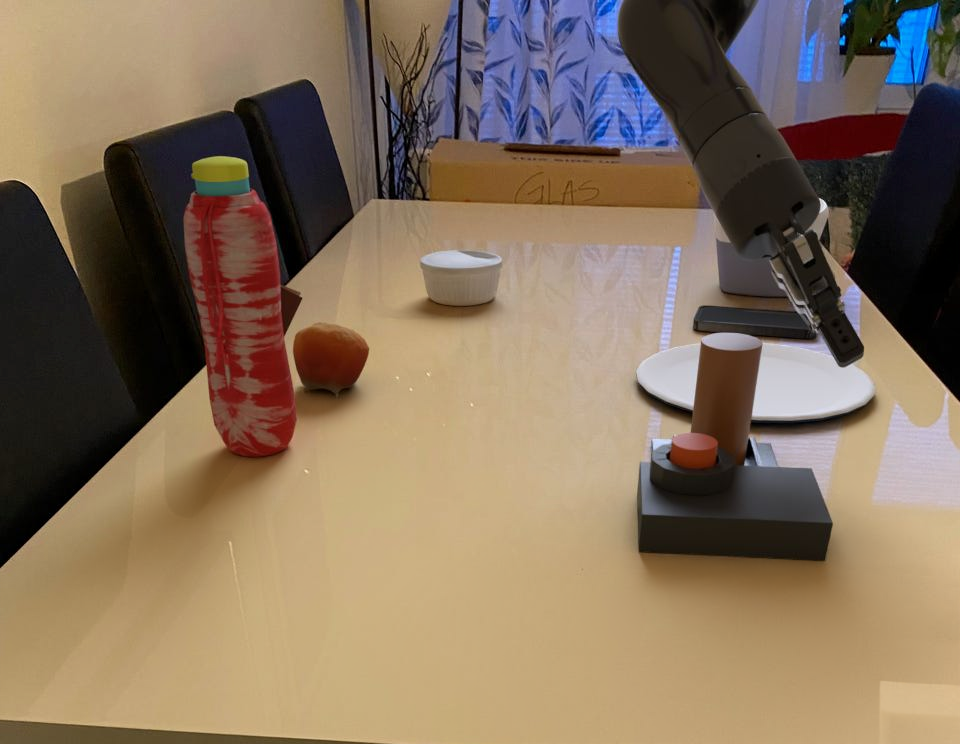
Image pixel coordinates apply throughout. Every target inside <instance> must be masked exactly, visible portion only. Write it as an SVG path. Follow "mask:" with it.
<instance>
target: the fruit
mask: <svg viewBox="0 0 960 744" xmlns="http://www.w3.org/2000/svg"><path fill="white" fill-rule="evenodd" d="M292 354H293V360H294V365H295V369H296V372H297V375H298V378H299V379H300V380H299V381H300V382H301V384H302V386H303V387H304V390H305V393H307V392H309V391H312V390H317V389H321V390H322V389H324V390H327V391H330V392H332V393H334V394H335V398H336V399H339V392H340V391H341V390H343V389H344V390H345V389H347V388H353V386H354V385H355V384H356V383H357V381H358V380H359V378H360V376H361V375H362V371H363V370H364V368H365V365H366V363H367V361H368V357H369V354H370V347H369V345H368V343H367V341H366V339H365V338H364V337H363V336H362V335H361V334H359V333H358V332H357V331H355V330H354V329H352V328H348V327H345V326H342V325H339V324H335V323H328V322H315V323H313V324H311V325H310V326H309V325H308V326H307V327H305V328H302V329H300V330H298V331H297V332H296V333H295V335H294V340H293V346H292Z"/></svg>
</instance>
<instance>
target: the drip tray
mask: <svg viewBox="0 0 960 744" xmlns="http://www.w3.org/2000/svg"><path fill="white" fill-rule="evenodd" d="M676 435H677V434H673V435H672V438H673V437H674V436H676ZM672 438H671V439H667V438H651V444H650V445H651V452H652V451H654V450H655V449H657V448H658V447H660V446H661V445H665V444H670V443H671V442H672ZM744 466H766V467H779V465H778V462H777V459H776V456H775V453H774V449H773V447H772V443H771V442H757V440H756V437H752V436H751V437H750V436H749V438H748V445H747V451H746V458H745V465H744Z"/></svg>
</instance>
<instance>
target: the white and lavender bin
mask: <svg viewBox="0 0 960 744" xmlns="http://www.w3.org/2000/svg"><path fill="white" fill-rule="evenodd" d="M818 198H819V200H820V204H821V207H820V212H819V214H818V216H817V218H816V220H815V221H814V223H813V224H812V225H811V226H810V228H809V229H808V230H807V231H809V230H810V229H812V230H813V231H814V232H816V234H817V236H818V239H819V240H821V238H822V237H821V236H822V234H823V232H824V229H825V226H826V224H827V220H828V218H829V215H830V210H829V207H828V205H827V202H826V201H825V200H823V199H822V198H820V197H818ZM713 222H714V223H713V225H714V235H715V246H716V247H715V248H716V259H717V270H718V271H717V272H718V282H719V283H718V284H719V287H720V289H721V290H722V291H723V292H725V293H728V294H732V295H742V296H750V297H765V298H766V297H767V298H789V297H788V295H787V294H786V292H785V290H783V289H781V288H779V286H778V284H777V283H776V281H775V279H774V277H773V275H772V273H771V271H772V270H773V268H772V266H771V263H770V261H769V259H771V258H772V257H765V258H761V259H760V260H756V261H746V260H743V259H741V258H740V257H739V256H738V255H737V253H736V251H735V249H734V248H733V246H732V244H731V242H730V240H729V239H728V237H727V235H726V233H725V232H724V230H723V228H722V226H721V224H720V222H719V221H718V219H717V217H716V215H715V213H714V212H713ZM807 231H806V232H807Z"/></svg>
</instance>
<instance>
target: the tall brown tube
mask: <svg viewBox="0 0 960 744" xmlns="http://www.w3.org/2000/svg"><path fill="white" fill-rule="evenodd" d="M700 343H701V346H700V355H699V363H698V372H697V381H696V390H695V398H694V407H693V413H692V417H691V425H690V433H700V434H705V435H708V436H711V437H713V438H715V439H716V440H717V442H718V447H721V448H723V449H724V450H726V451H728V452H729V453H731V454H733V456H734V460H735V465H740V466H744V465H745V458H746V451H747V445H748V438H750V431H751V424H752V422H751V418H752V411H753V405H754V398H755V391H756V385H757V378H758V371H759V364H760V358H761V351H762V343H763V341H762V340H761V339H759V338H758V337H755V336H754V335H751V334H739V333H726V332H715V333H711V334H707V335H705V336H702V338H701V340H700Z"/></svg>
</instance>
